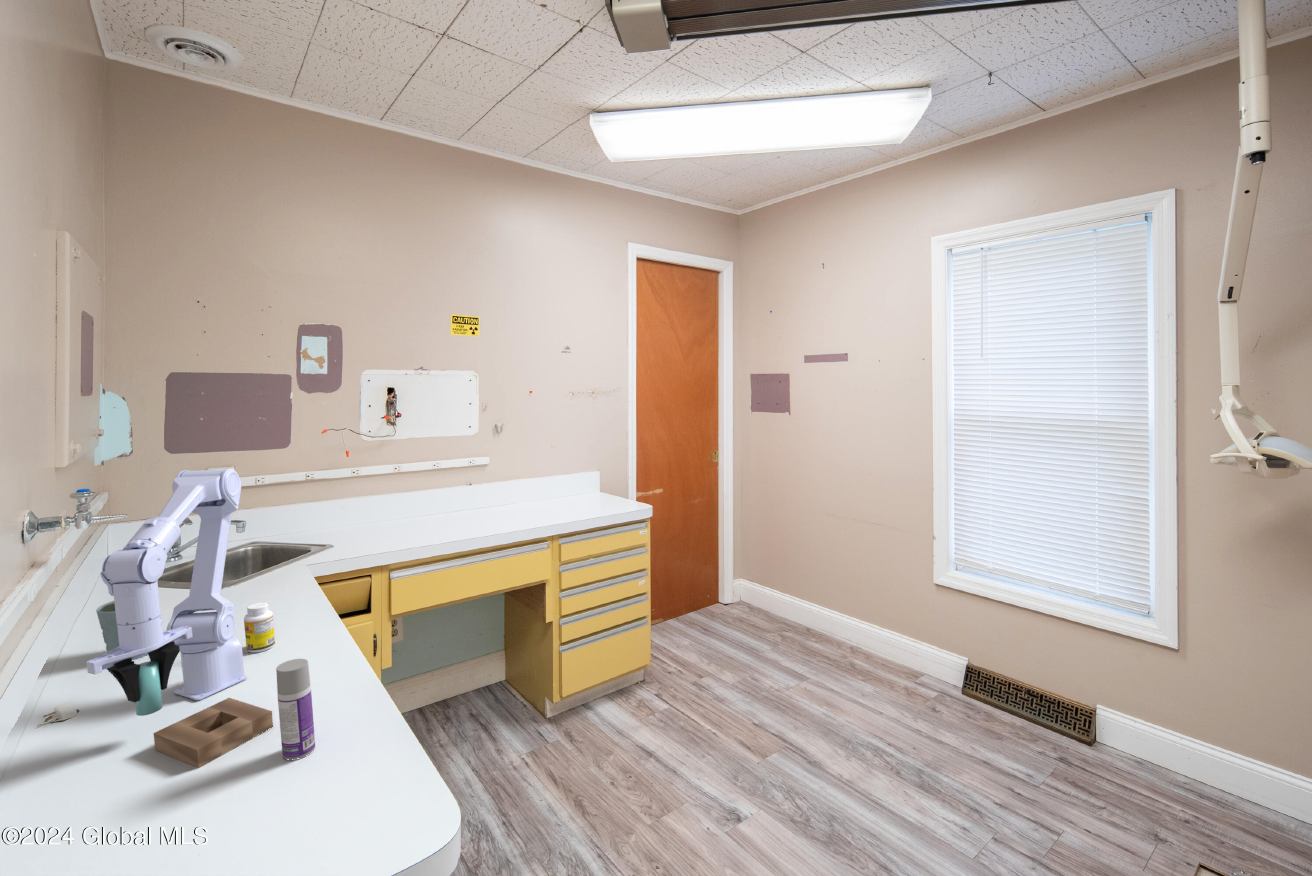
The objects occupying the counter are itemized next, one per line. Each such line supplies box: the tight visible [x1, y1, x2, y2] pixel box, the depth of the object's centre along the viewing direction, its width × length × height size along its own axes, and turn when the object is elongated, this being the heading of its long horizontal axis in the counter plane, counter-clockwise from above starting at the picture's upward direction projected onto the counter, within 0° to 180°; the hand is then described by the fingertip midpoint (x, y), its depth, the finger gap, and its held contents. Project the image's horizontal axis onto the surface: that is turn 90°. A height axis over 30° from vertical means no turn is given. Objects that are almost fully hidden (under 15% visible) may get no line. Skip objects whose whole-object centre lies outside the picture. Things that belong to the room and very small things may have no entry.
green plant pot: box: [96, 600, 149, 661], centre depth 136 cm, size 10×10×12 cm
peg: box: [134, 660, 164, 717], centre depth 103 cm, size 4×4×8 cm
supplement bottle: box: [243, 602, 276, 654], centre depth 137 cm, size 6×6×10 cm
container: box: [275, 658, 316, 761], centre depth 98 cm, size 5×5×15 cm
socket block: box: [153, 697, 274, 768], centre depth 103 cm, size 12×12×3 cm
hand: (147, 694), depth 103 cm, fingers closed on peg, 3 cm apart
